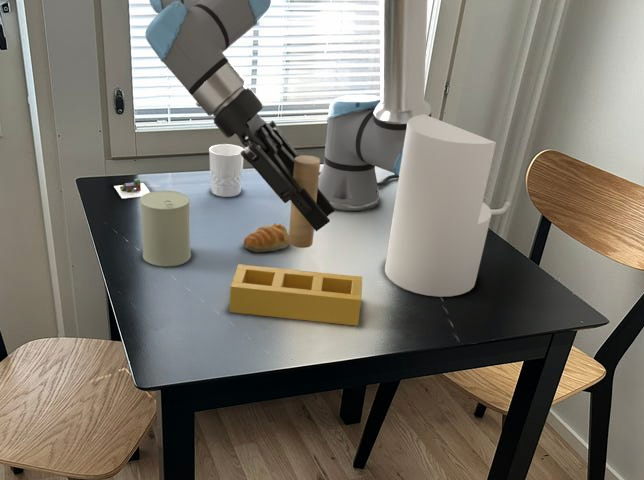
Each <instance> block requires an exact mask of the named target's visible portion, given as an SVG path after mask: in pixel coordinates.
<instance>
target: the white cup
mask: <svg viewBox="0 0 644 480" xmlns="http://www.w3.org/2000/svg"><path fill="white" fill-rule="evenodd" d="M244 149H245V148H243V147H241V146H239V145H235V144H228V143H221V144H215V145H212V146H210V147H209V149H208V153H209V155H208V156H209V173H210V175H209V177H210V190H211V193H212V194H213V195H215V196H217V197H222V198H231V197H236V196H238V195H240V193H241V192H242V191H241V189H242V180H243V170H244V158H243V157H242V156H241V153H240V152H241V151H242V150H244Z"/></svg>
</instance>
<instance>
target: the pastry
mask: <svg viewBox="0 0 644 480" xmlns="http://www.w3.org/2000/svg"><path fill="white" fill-rule="evenodd" d="M288 241H289V232H288V230H287V227H285V226H284V225H282V224H281V223H273V224H271V225H266V226H260V227H258V228H257V229H256V230H255V231H253V232H250V233H249V235H247V236H245V238H244V239H243V245H242V246H243V248H245V249H247V250H249V251H252V252H255V253H263V252H264V253H265V252H267V253H268V252H272V251H273V252H274V251H275V252H276V251H278V250H280V249H281V250H284V249H286V248H287V247H288V246H289V245H290V244H289V242H288Z"/></svg>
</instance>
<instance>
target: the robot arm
mask: <svg viewBox="0 0 644 480" xmlns="http://www.w3.org/2000/svg"><path fill="white" fill-rule="evenodd" d="M149 4H150V6H151V8H152V9H153V11H154V12H155V13H156V14H157V15H155V17H154V18H153V19H152V21H150V23H149V24H148V25H147V28H146V30H145V33H144V34H145V39H146V41H147V43H148V45H149V46H150V47H151V49H152V50H153V52H154V53H155V54H156V56H157V57H158V58H159V60H160V61H161V63H163V64H164V65H165V66H166V68H168V70H169V71H170V72H171V74H173V75H174V77H175V78H176V79H177V80H178V82H180V83H181V85H182V86H183V87H184V88H185V89H186V90H187V92H188V94H190V96H192V98H193V99H194V100H195V101H196V102H195V105H196V106H197V107H199V108H201V109H202V110H203V111H204V112H205V113H206V115H207V116H208V117H211V116H213V117H214V118H213V124H214V125H215V127H217V129H219V131H220V132H221V133H222V135H223V136H224V137H225V138H227V139H229V138H231V137H233V136H234V135H237V138H238V140H239V141H240V143H241V144H242V146H243V147H244V148H243V149H244V150H242V151H241V152H240V153H241V156H242V157H243V160H246V162H248V164H249V165H251V166H252V167H253V169H254V170H255V171H256V172H257V173H258V174H259V176H261V178H262V179H263V180H264V181H265V182H266V184H267V185H268V186H269V187H270V188H271V189H272V191H273V192H274V193H275V194H276V195H277V197H279V199H280V200H281V201H282V202H283V203H284V204H287V203H288V202H291V201H292V203H293V204H294V205H295V206H296V208H297V209H298V210H299V211H300V212H301V214H302V215H303V216H304V217H305V218H306V220H307V221H308V222H309V223H310V224H311V226H312V227H313V228H314V232H318V231H319V230H320V229H322V228H324V227H325V226H326V225H327V224H329V223H330V222H331V219H330V218H329V216H330V215H332V214H333V213H334V212H335V211H343V212H360V211H366V210H370V209H373V208H375V207H376V206H377V205H378V204H379V199H380V190H379V188H378V187H382V186H384V185H385V184H386V183H387V182H388V181H389V180H392V179H399V174H400V167H401V161H402V154H403V148H404V141H405V135H406V128H407V122H408V121H409V119H410V118H413V117H415V116H419V115H423V114H425V115H427V116H430V117H432V106H431V105H430V103H429V102H427V101H426V100H425V85H426V84H425V83H426V54H427V53H426V52H427V28H428V27H427V26H428V25H427V22H428V0H379V17H380V18H379V31H380V33H379V36H380V37H379V38H380V39H379V40H380V41H379V42H380V43H379V44H380V45H379V46H380V50H379V51H380V53H379V54H380V56H379V57H380V58H379V59H380V96H377V95H371V94H370V95H368V94H356V95H355V94H352V95H351V94H350V95H344V96H338V97H336V98H334V99H332V101H331V102H330V104H329V108H328V116H327V118H326V120H327V121H326V131H325V132H326V133H325V148H324V160H323V164H322V165H323V166H322V169H320V170H321V171H319V180H318V191H317V202H315V201H314V200H313V199H312V197H311V196H310V195H309V194H308V192H307V191H306V190H305V189H302V190H301V188H300V187H299V185H298V184H297V182H296V181H295V179H294V178H293V172H294V159H295V157H297V156H300V154H299V153H298V152H297V150H296V149H295V148H294V147H293V146H292V144H291V143H290V142H289V141H288V139H287V138H286V137H285V135H284V134H283V133H282V132H281V130H280V129H279V126H278V125H277V123H276V122H275V121H274V120H271V121H270V122H269V123H268V122H267V121H265V120H264V119H263V118H262V116H260V115H259V114H258V113H260V112H261V111H262V110H263V108H264V103H263V102H262V101H261V99H260V98H259V97H258V95H257V94H256V93H255V92H254V91H253V90H252V88H251V87H250V88H249V87H247V88H246V86H245V85H246V82H247V81H246V80H245V78H243V76H242V74H240V73H239V72H238V70H237V69H236V68H235V67H234V65H233V64H232V63H231V62H230V60H229V59H228V58H227V57H226V55H225V54H224V52H225V51H227V49H228V48H229V47H231V46H232V45H233V44H234V43H236V42H237V41H238V40H239V39H240V38H242V37H243V36H244V35H245V34H246V33H247V32H249V31H250V30H251V29H253V27H256V26H257V25H258V23H259V21H261V20H262V19H263V18H264V16H266V15H267V13H268V12H269V11H270V10H271V6H272V0H149ZM376 168H379V169H382V170H385V171H387V172H390V173H393V174H391V175H388V176H386V177H385V178H384V179H383V180H381V181H379V182H378V179H377V175H376Z"/></svg>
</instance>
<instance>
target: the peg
mask: <svg viewBox="0 0 644 480" xmlns="http://www.w3.org/2000/svg"><path fill="white" fill-rule="evenodd" d="M320 170H321V159H320V158H319V157H317V156H313V155H305V154H304V155H299V156H297V157H295V159H294V172H293V178H294V179H295V181H296V182H297V184H298V185H299V187H300V188H301V190H302V189H305V190H306V191H307V192H308V194H309V195H310V196H311V197H312V199H313V200H314V201H315V202H317V191H318V180H319V172H320ZM289 213H290V215H289V229H288V235H289V241H288V242H289V245H290V246H291V247H294V248H297V249H301V248H302V249H306V248H310V247H311V246H312V245H313V244H314V243H313V242H314V234H315V233H314V232H315V229H314V228H313V227H312V226H311V224H310V223H309V222H308V221H307V220H306V218H305V217H304V216H303V215H302V214H301V212H300V211H299V210H298V209H297V208H296V206H295V205H294V204H293V203H292V201H291V200H290V212H289Z"/></svg>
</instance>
